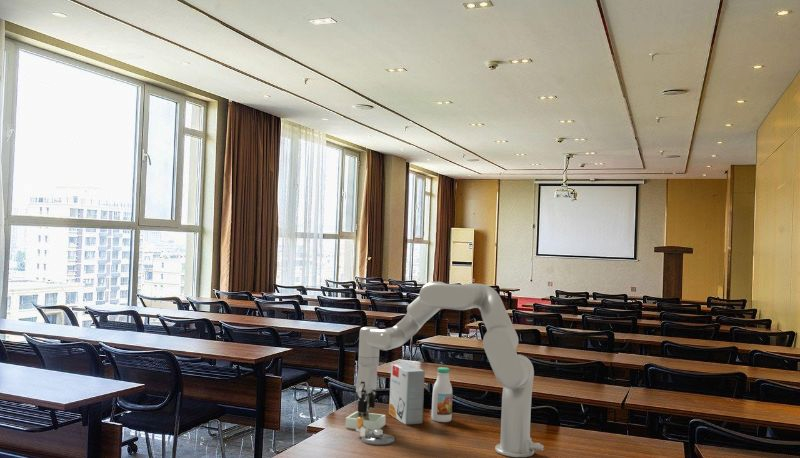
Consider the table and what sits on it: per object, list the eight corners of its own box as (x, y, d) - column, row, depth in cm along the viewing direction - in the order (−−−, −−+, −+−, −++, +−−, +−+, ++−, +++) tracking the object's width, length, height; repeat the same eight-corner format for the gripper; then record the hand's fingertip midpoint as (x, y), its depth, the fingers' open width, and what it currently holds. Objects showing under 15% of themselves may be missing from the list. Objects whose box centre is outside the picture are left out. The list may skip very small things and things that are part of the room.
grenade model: (373, 427, 239) (374, 385, 239) (354, 425, 240) (356, 383, 241) (377, 423, 245) (379, 382, 246) (359, 421, 246) (360, 380, 247)
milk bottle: (429, 421, 254) (431, 368, 255) (434, 416, 261) (436, 365, 262) (448, 423, 252) (451, 370, 252) (453, 419, 259) (455, 367, 260)
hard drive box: (388, 414, 261) (390, 363, 262) (405, 413, 264) (407, 363, 265) (405, 425, 247) (407, 371, 248) (423, 423, 250) (425, 370, 251)
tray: (385, 424, 246) (385, 415, 246) (375, 431, 236) (376, 421, 236) (355, 421, 249) (356, 411, 249) (345, 427, 239) (345, 417, 239)
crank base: (398, 438, 229) (398, 426, 229) (387, 447, 218) (388, 434, 218) (366, 434, 232) (367, 422, 232) (355, 442, 222) (355, 430, 222)
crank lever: (384, 436, 226) (385, 421, 226) (379, 438, 223) (379, 423, 223) (359, 430, 231) (360, 416, 231) (354, 432, 228) (355, 418, 229)
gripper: (367, 356, 253) (365, 403, 252) (350, 363, 236) (347, 413, 236) (385, 358, 250) (383, 405, 250) (370, 365, 234) (367, 416, 233)
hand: (366, 409), depth 243 cm, fingers open, 7 cm apart
